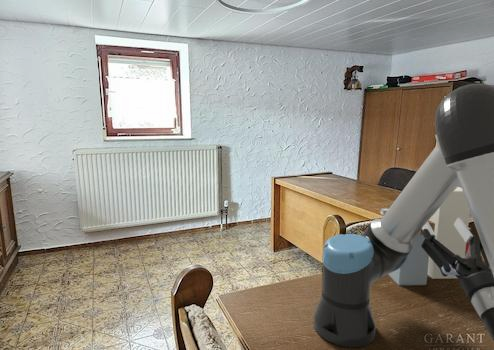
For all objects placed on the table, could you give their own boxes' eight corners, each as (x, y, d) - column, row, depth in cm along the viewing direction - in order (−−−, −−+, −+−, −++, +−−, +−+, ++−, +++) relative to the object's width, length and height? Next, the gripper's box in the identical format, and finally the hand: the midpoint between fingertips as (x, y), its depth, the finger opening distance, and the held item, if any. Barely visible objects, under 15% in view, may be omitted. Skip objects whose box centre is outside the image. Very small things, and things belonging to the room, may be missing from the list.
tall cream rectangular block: (432, 278, 106) (441, 191, 101) (409, 259, 121) (415, 182, 116) (462, 278, 106) (472, 191, 101) (435, 259, 121) (442, 182, 116)
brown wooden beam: (412, 234, 93) (413, 223, 93) (380, 213, 115) (380, 204, 114) (442, 234, 94) (443, 223, 93) (404, 213, 115) (405, 203, 115)
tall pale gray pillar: (398, 285, 102) (403, 229, 98) (382, 268, 113) (385, 217, 110) (426, 284, 102) (431, 228, 99) (407, 267, 114) (411, 217, 110)
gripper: (433, 303, 73) (397, 230, 91) (526, 303, 73) (472, 230, 91) (445, 285, 69) (405, 212, 86) (545, 285, 69) (484, 211, 86)
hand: (439, 221), depth 89 cm, fingers open, 9 cm apart
